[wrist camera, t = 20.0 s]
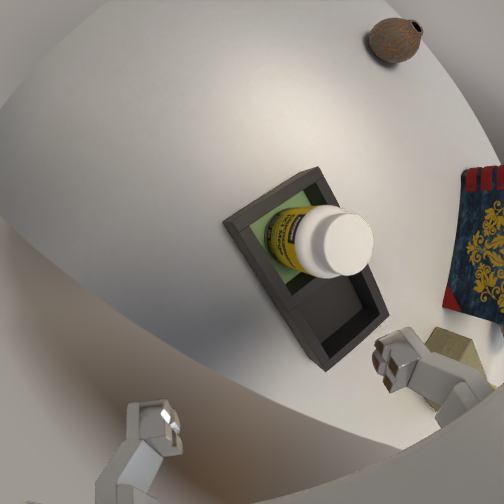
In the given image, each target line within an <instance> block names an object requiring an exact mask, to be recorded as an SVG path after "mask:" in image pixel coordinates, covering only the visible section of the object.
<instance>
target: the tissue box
mask: <svg viewBox="0 0 504 504" xmlns="http://www.w3.org/2000/svg"><path fill="white" fill-rule="evenodd" d="M425 346H426V347H427V348H428V349H429V351H430V352H431V353H432V352H436V353H439V354H441V355H444V356H446V357H449V358H451V359H453V360H456V361H458V362H461V363H463V364H466V365H469V366H471V367H474V368H476V369H478V370H479V371H480V372H481V373H482V375H483V376H484V377H485V379H486V380H487V378H486V375H485V372H484V370H483V367H482V364H481V361H480V359H479V356H478V353H477V351H476V348H475V346H474V343H473V341H472V339H470V338H467V337H464V336H461V335H459V334H456V333H453V332H450V331H448V330H445V329H442V328H439V327H436V329H435V330H434V332H433V333H432V335H431V336H430V338H429V339H428V341H427V342H426V344H425ZM423 397H424V396H423ZM424 398H425V399H426V400H427V402H428V403H429V404H430V405H431V406H432V408H433V409H434V410H435V411H437V412H438V411H439V409H440V408H441V406H440V405H438V404H436V403H435V402H433V401H431V400H429V399H428V398H426V397H424Z"/></svg>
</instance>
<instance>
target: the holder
mask: <svg viewBox="0 0 504 504" xmlns="http://www.w3.org/2000/svg"><path fill="white" fill-rule="evenodd" d="M318 205H332V206H336V207H339V208H340V206H339V204H338V202H337V200H336V198H335V196H334V194H333V192H332V191H331V189H330V187H329V185H328V183H327V181H326V179H325V178H324V176H323V174H322V172H321V170H320V168H319V167H318V166H317V167H314V168H311V169H308V170H305V171H302V172H300V173H298V174H296V175H295V176H293V177H291V178H290V179H288V180H287V181H285V182H283V183H282V184H280V185H279V186H277V187H275V188H274V189H272V190H271V191H269V192H268V193H266V194H264V195H263V196H261V197H260V198H258V199H256V200H255V201H253V202H252V203H250V204H249V205H247V206H246V207H244V208H242V209H241V210H239V211H238V212H236V213H235V214H233V215H232V216H230V217H229V218H227V219H226V220H224V221H223V224H224V225H225V227H226V228H227V230H228V232H229V233H230V235H231V236H232V238H233V239H234V241H235V243H236V244H237V246H238V247H239V249H240V251H241V252H242V254H243V255H244V257H245V258H246V260H247V262H248V263H249V265H250V266H251V268H252V269H253V271H254V273H255V274H256V276H257V277H258V279H259V280H260V282H261V284H262V285H263V287H264V288H265V290H266V291H267V293H268V295H269V296H270V298H271V299H272V301H273V302H274V304H275V306H276V307H277V309H278V310H279V312H280V313H281V315H282V316H283V318H284V320H285V321H286V323H287V324H288V326H289V327H290V329H291V330H292V332H293V334H294V335H295V337H296V338H297V340H298V341H299V343H300V344H301V346H302V348H303V349H304V351H305V352H306V354H307V355H308V357H309V358H310V359H311V360H312V361H313V362H314V363H315V364H317V365H318V366H319V367H320V368H321V369H323V370H324V371H325V372H327V371H328V370H329V369H330V368H332V367H333V366H334V365H335V364H336V363H338V362H339V361H340V360H341V359H342V358H343V357H345V356H346V355H347V354H348V353H349V352H350V351H352V350H353V349H354V348H355V347H356V346H357V345H358V344H360V343H361V342H362V341H363V340H364V339H365V338H366V337H367V336H368V335H369V334H371V333H372V332H373V331H374V330H375V329H376V328H377V327H378V326H379V325H380V324H381V323H382V322H383V321H384V320H385V319H386V318H387V317H388V316H389V312H388V310H387V308H386V305H385V303H384V300H383V298H382V296H381V293H380V291H379V288H378V286H377V284H376V281H375V279H374V277H373V275H372V272H371V270H370V268H369V266H368V264H367V265H366V266H365V267H364V268H363V269H362V270H361V271H360V272H358V273H356V274H354V275H350V276H345V275H340V276H337V277H334V278H319V277H315V276H312V275H310V274H307V273H304V272H301V271H298V270H296V269H293V268H290V267H287V266H285V265H282V264H280V263H279V262H277V261H276V260H275V259H273V258H272V256H271V255H270V254H269V252H268V250H267V247H266V243H265V232H266V228H267V225H268V223H269V221H270V220H271V218H272V217H273V216H274V215H275V214H276V213H278V212H279V211H281V210H283V209H286V208H292V207H304V206H318Z"/></svg>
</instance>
